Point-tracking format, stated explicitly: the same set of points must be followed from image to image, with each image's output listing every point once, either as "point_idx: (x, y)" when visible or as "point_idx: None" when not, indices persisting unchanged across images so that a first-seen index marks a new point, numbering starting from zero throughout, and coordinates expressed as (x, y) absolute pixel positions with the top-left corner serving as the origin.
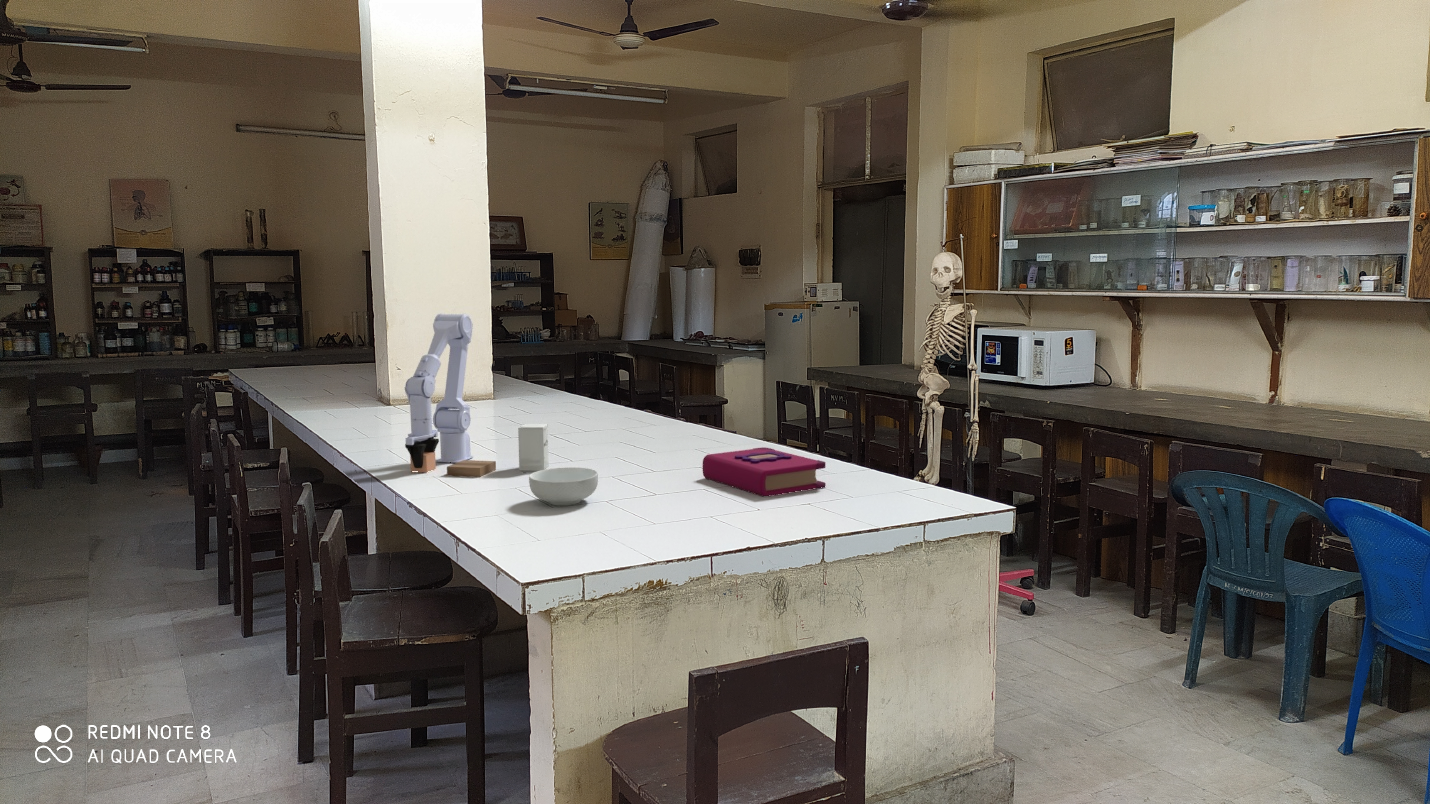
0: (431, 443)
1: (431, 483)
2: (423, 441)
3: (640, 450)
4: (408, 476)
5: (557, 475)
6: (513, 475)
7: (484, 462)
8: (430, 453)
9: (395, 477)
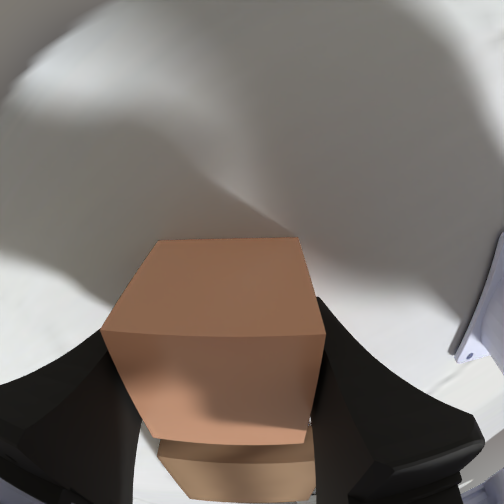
0: (321, 501)
1: None
2: (347, 491)
3: (466, 482)
4: (61, 291)
5: None
6: None
7: (281, 495)
8: (247, 438)
9: (16, 236)
